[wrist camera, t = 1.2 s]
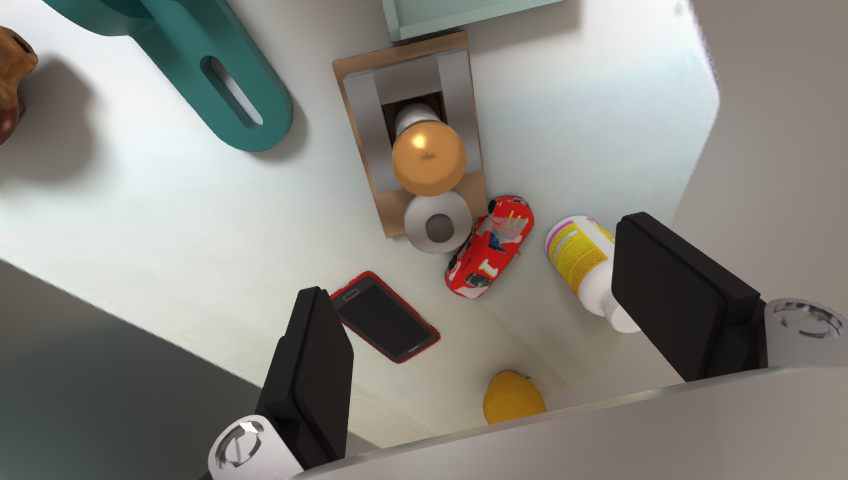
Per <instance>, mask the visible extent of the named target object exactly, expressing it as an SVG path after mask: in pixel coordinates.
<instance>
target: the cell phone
mask: <svg viewBox="0 0 848 480" xmlns="http://www.w3.org/2000/svg"><path fill="white" fill-rule="evenodd" d="M332 295H333V296H332ZM332 295H331V297H330V299H331V301H332V303H333V305H334V307H335V310H336V312H337V314H338V316H339V318H340V321H341V322H342V323H343V324H344V325H345V326H347V327H348V328H349V329H351V330H352V331H353V332H355V333H356V334H357V335H358V336H360V337H361V338H362V339H364V340H365V341H366V342H368V343H369V342H370V343H369V344H370V345H372V346H373V347H374V348H375V349H377V350H378V351H379V352H381V353H382V354H383V355H385V356H386V357H387V358H388V359H390V360H391V361H393V362H395V363H397V364H400V363H403V362H405V361H406V360H408V359H410V358H411V357H413V356H415V355H416V354H418V353H420V352H421V351H423V350H424V349H426V348H428V347H429V346H431V345H433V344H434V343H436V342H437V341H438V340H439V339H440V335H439V332H438V331H437V330H436V329H435V328H434V327H433V326H432V325H429V324H428V323H427V322H426V321H425V320H424V319H423V318H422V317H421V316H419V313H417V312H416V311H415V310H414V309H413V308H412V307H411V306H410V305H409V304H408V303H407V302H405V301H404V300H403V299H402V298H401V297H400V296H399V295H398V294H397V293H395V292H394V291H393V290H392V289H391V288H390V287H389V286H388V285H387V284H386V283H384V282H383V281H382V280H381V279H380V278H379V277H378V276H377V275H375V274H374V273H373V272H371V271H366V272H364V273H362V274H360V275H359V276H358V277H357V278H355V279H353V280H352V281H351V282H349V285H347V286H346V287H344V288H343V289H339V290H338V291H336V292H335V293H334V294H332Z"/></svg>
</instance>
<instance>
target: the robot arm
mask: <svg viewBox="0 0 848 480" xmlns="http://www.w3.org/2000/svg"><path fill="white" fill-rule="evenodd" d="M611 292H612V295H613V297H614V298H615V300H616V301H617V302H618V303H619V304H620V306H621V307H622V308H623V309H624V310H625V311H626V313H627V314H628V315H629V316H630V317H631V318H632V320H633V321H634V322H635V323H636V324H637V326H638V327H639V328H640V329H641V330H642V331H643V332H644V334H645V335H646V336H647V337H648V338H649V340H650V341H651V342H652V343H653V344H654V345H655V347H656V348H657V349H658V350H659V351H660V353H662V355H663V356H664V357H665V358H666V360H667V361H668V362H669V363H670V364H671V365H672V367H673V368H674V369H675V370H676V371H677V373H678V374H679V375H680V376H681V377H682V378H683V380H684V381H685V382H686V383H682V384H677V385H673V386H668V387H663V388H658V389H653V390H649V391H644V392H640V393H635V394H630V395H625V396H621V397H616V398H611V399H606V400H601V401H597V402H592V403H587V404H583V405H578V406H574V407H569V408H565V409H560V410H556V411H550V412H546V413H541V414H537V415H532V416H528V417H523V418H518V419H514V420H509V421H505V422H500V423H495V424H491V425H486V426H482V427H477V428H473V429H468V430H464V431H460V432H455V433H451V434H446V435H442V436H437V437H433V438H428V439H424V440H419V441H415V442H410V443H406V444H401V445H397V446H393V447H389V448H385V449H381V450H376V451H372V452H368V453H364V454H360V455H356V456H352V457H347V458H345V451H346V439H347V428H348V416H349V405H350V394H351V382H352V371H353V360H354V353H353V348H352V345H351V343H350V340H349V338H348V336H347V334H346V332H345V329H344V327H343V325H342V323H341V321H340V318H339V316H338V314H337V312H336V310H335V307H334V305H333V303H332V301H331V299H330V296H329V294H328V292H327V290H326V289H323V290H321V289H320V287H318V286H315V287H311V288H307V289H302V290H300V291H299V293H298V295H297V299H296V302H295V305H294V308H293V311H292V314H291V317H290V321H289V324H288V327H287V330H286V333H285V336H282V337H281V338H280V339H279V342H278V344H277V347H276V350H275V353H274V356H273V359H272V362H271V365H270V368H269V371H268V374H267V377H266V380H265V383H264V386H263V389H262V392H261V395H260V398H259V401H258V405H257V408H256V411H255V413H254V415H251V416H247V417H244V418H242V419H239V420H238V421H236V422H235V423H233V424H232V425H230V426H229V427H228V428H227V429H226V430H225V431H224V432H223V433H222V434H221V435H220V436H219V437H218V439H217V440H216V441H215V443H214V445H213V447H212V449H211V451H210V453H209V459H208V466H209V471H208V472H207V473H206V474H205V475H204V476H203V477H202V478H200V479H199V480H848V319H846V318H845V317H844V316H843V315H842V314H840V313H838V312H837V311H835V310H833V309H831V308H830V307H827V306H824V305H822V304H819V303H817V302H813V301H809V300H804V299H798V298H779V299H775V300H772V301H770V302H769V303H768V304H767V303H766V302H764V301H763V300H762V299H760V298H759V297H760V295H761V294H760V293H759V292H757V291H756V290H755V289H753V288H752V287H750V286H749V285H748V284H746V283H745V282H743V281H742V280H741V279H739V278H738V277H736V276H735V275H734V274H732V273H731V272H729V271H728V270H726V269H725V268H724V267H722V266H721V265H719V264H718V263H717V262H715V261H714V260H712V259H711V258H710V257H708V256H707V255H705V254H704V253H703V252H701V251H700V250H698V249H697V248H695V247H694V246H693V245H691V244H690V243H688V242H687V241H685V240H684V239H683V238H681V237H680V236H679V235H677V234H676V233H674V232H673V231H671V230H670V229H669V228H667V227H666V226H664V225H663V224H662V223H660V222H659V221H657V220H656V219H655V218H653V217H652V216H650V215H649V214H647V213H646V212H639V213H635V214H630V215H626V216H624V217H622V219H621V221H620V222H618V223H617V226H616V237H615V248H614V259H613V270H612V281H611Z"/></svg>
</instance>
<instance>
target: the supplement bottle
mask: <svg viewBox="0 0 848 480" xmlns="http://www.w3.org/2000/svg"><path fill="white" fill-rule="evenodd" d="M614 248H615V238H614V237H613V236H612V235H611V234H610V233H609V232H607V231H606V230H605V229H604V228H603V227H602V226H601V225H600V224H599V223H597V222H596V221H595V220H594V219H592V218H590V217H587V216H581V215H579V216H572V217H568V218H565V219H563V220H562V221H560V222H558V223H557V224H556V225H555V226H554V227H553V228H552V229H551V230H550V232H549V233H548V235H547V237H546V240H545V251H546V254H547V256H548V258H549V259H550V261H551V262H552V263H553V265H554V266H555V267H556V269H557V270H558V272H559V273H560V274H561V276H562V277H563V278H564V280H565V281H566V282H567V284H568V285H569V287H570V288H571V289H572V291H573V292H574V294H575V295H576V296H577V298H578V299H579V300H580V302H581V303H582V304H583V306H584V307H585V308H586V309H587V310H588V311H590V312H591V313H593V314H595V315H599V316H604V317H606V319H607V320H608V322H609V323H610V324H611V326H612V327H613V328H614V329H615V330H617V331H619V332H622V333H633V332H637V331H640V330H641V329H640V328H639V327H638V326H637V324H636V323H635V322H634V321H633V320H632V318H631V317H630V316H629V315H628V314H627V313H626V311H625V310H624V309H623V308H622V307H621V306H620V304H619V303H618V302H617V301H616V300H615V298H614V297H613V295H612V292H611V281H612V270H613V259H614Z"/></svg>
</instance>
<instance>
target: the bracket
mask: <svg viewBox="0 0 848 480" xmlns="http://www.w3.org/2000/svg"><path fill="white" fill-rule="evenodd" d="M43 1H44V2H45V3H46V4H48V5H49V6H50V7H52V8H53V9H54V10H56V11H57V12H58V13H60V14H61V15H63V16H64V17H66V18H67V19H69V20H70V21H72V22H74V23H75V24H77V25H79V26H81V27H83V28H85V29H87V30H89V31H91V32H94V33H96V34H99V35H103V36H126V35H128V36H130V37H132V38H133V39H134V40H135V41H136V42H137V43H138V44H139V45H140V47H141V48H142V49H143V50H144V51H145V52H146V54H147V55H148V56H149V57H150V58H151V59H152V61H153V62H154V63H155V64H156V65H157V67H158V68H159V69H160V70H161V71H162V72H163V74H164V75H165V76H166V77H167V78H168V79H169V81H170V82H171V83H172V84H173V85H174V87H175V88H176V89H177V90H178V91H179V92H180V94H181V95H182V96H183V97H184V98H185V99H186V101H187V102H188V103H189V104H190V105H191V107H192V108H193V109H194V110H195V111H196V112H197V114H198V115H199V116H200V117H201V118H202V119H203V121H204V122H205V123H206V124H207V125H208V126H209V128H210V129H211V130H212V131H213V132H214V133H215V134H216V135H217V136H218V137H219V138H220V139H221V140H222V141H224V142H225V143H227V144H228V145H230V146H232V147H234V148H237V149H240V150H244V151H250V152H258V151H264V150H267V149H269V148H271V147H273V146H275V145H276V144H277V143H278V142H279V141H280V140H281V139H282V138H283V137H284V136H285V134H286V133H287V132H288V130H289V129H290V126H291V124H292V120H293V105H292V101H291V98H290V95H289V93H288V91H287V90H286V88H285V86H284V85H283V83H282V82H281V81H280V79H279V78H278V76H277V75H276V73H275V72H274V70H273V69H272V67H271V66H270V65H269V63H268V62H267V60H266V59H265V57H264V56H263V54H262V53H261V51H260V50H259V49H258V47H257V46H256V44H255V43H254V41H253V40H252V38H251V37H250V35H249V34H248V33H247V31H246V30H245V28H244V27H243V25H242V24H241V22H240V21H239V19H238V18H237V17H236V15H235V14H234V12H233V11H232V9H231V8H230V6H229V5H228V4H227V2H226V1H225V0H43ZM212 56H213V57H215V58H217V59H218V60H219V61H220V62H221V64H222V65H223V66H224V68H225V69H226V70H227V71H228V73H229V74H230V75H231V77H232V78H233V79H234V81H235V82H236V83H237V85H238V86H239V87H240V89H241V90H242V91H243V93H244V94H245V95H246V97H247V98H248V99H249V101H250V102H251V103H252V105H253V106H254V107H255V109H256V110H257V111H258V113H259V114H260V115H261V117H262V119H263V125H259V124H256V123H255V122H254V121H253V120H252V119H251V118H250V117H249V115H248V114H247V113H246V111H245V110H244V109H243V108H242V106H241V105H240V104H239V102H238V101H237V100H236V99H235V97H234V96H233V95H232V93H231V92H230V91H229V90H228V88H227V87H226V86H225V84H224V83H223V82H222V80H221V79H220V78H219V77H218V75H217V74H216V73H215V71H214V70H213V69H212V67H211V58H212Z"/></svg>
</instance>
